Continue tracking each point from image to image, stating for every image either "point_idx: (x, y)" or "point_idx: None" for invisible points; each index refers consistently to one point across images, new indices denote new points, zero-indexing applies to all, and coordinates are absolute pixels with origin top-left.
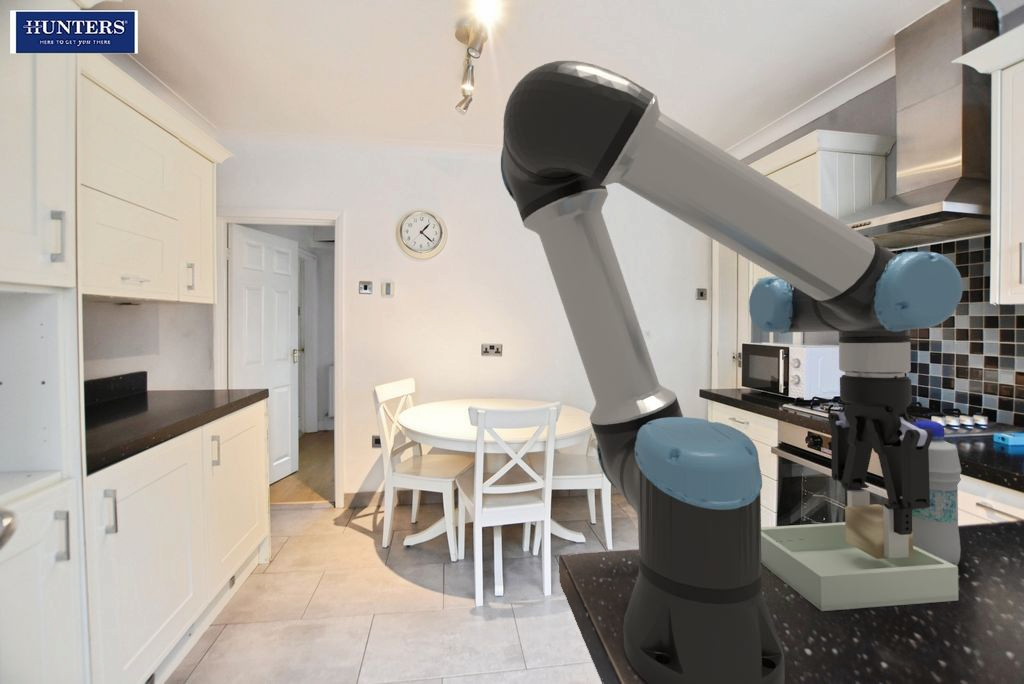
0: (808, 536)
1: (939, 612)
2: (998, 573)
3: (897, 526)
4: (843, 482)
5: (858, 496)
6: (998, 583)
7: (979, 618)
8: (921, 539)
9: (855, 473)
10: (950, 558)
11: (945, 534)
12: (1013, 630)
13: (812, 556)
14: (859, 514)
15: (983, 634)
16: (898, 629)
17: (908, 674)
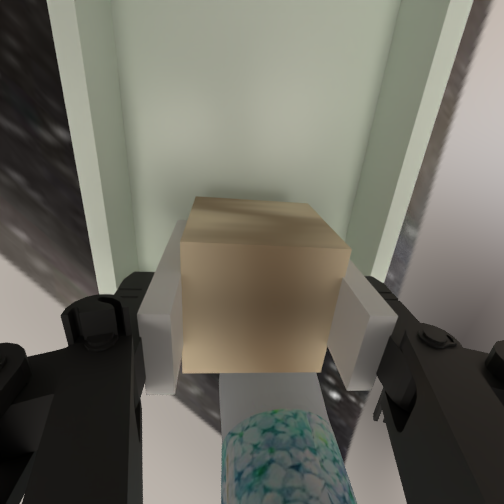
0: (390, 138)
1: None
2: (208, 404)
3: (138, 285)
4: (450, 346)
5: (351, 330)
6: (180, 381)
7: (68, 260)
8: None
9: (433, 440)
10: None
11: (223, 410)
12: (32, 279)
13: (340, 116)
14: (271, 243)
15: (10, 217)
16: (3, 38)
17: None
